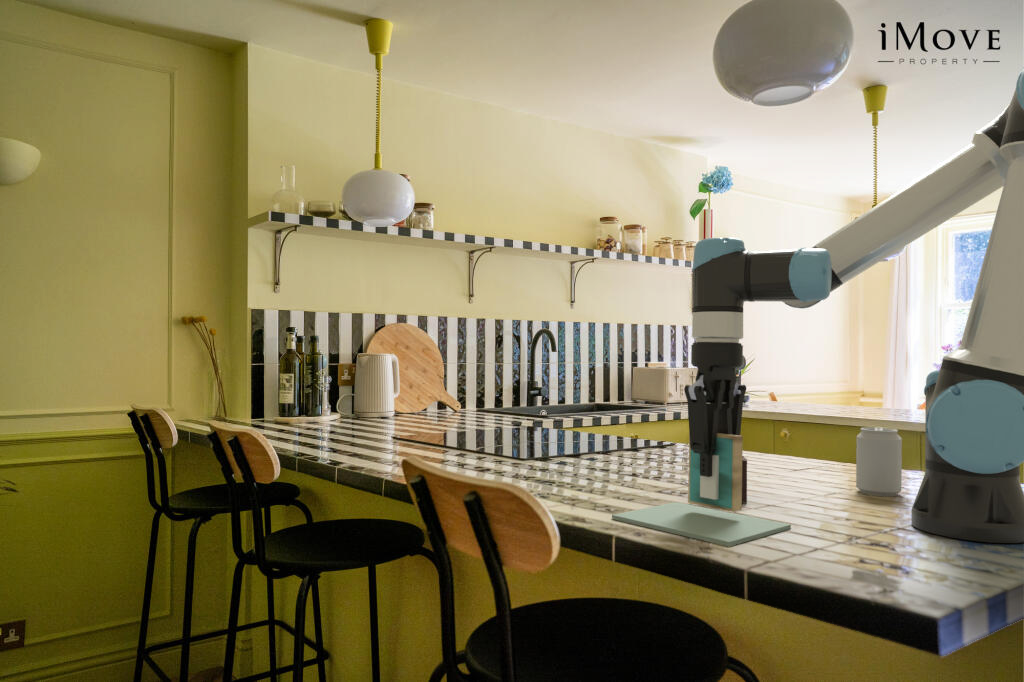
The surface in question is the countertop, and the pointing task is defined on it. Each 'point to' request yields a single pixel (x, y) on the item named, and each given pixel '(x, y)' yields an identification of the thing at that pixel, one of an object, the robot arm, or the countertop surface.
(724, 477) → the tile
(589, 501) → the countertop surface
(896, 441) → the can
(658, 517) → the mat
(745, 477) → the box
